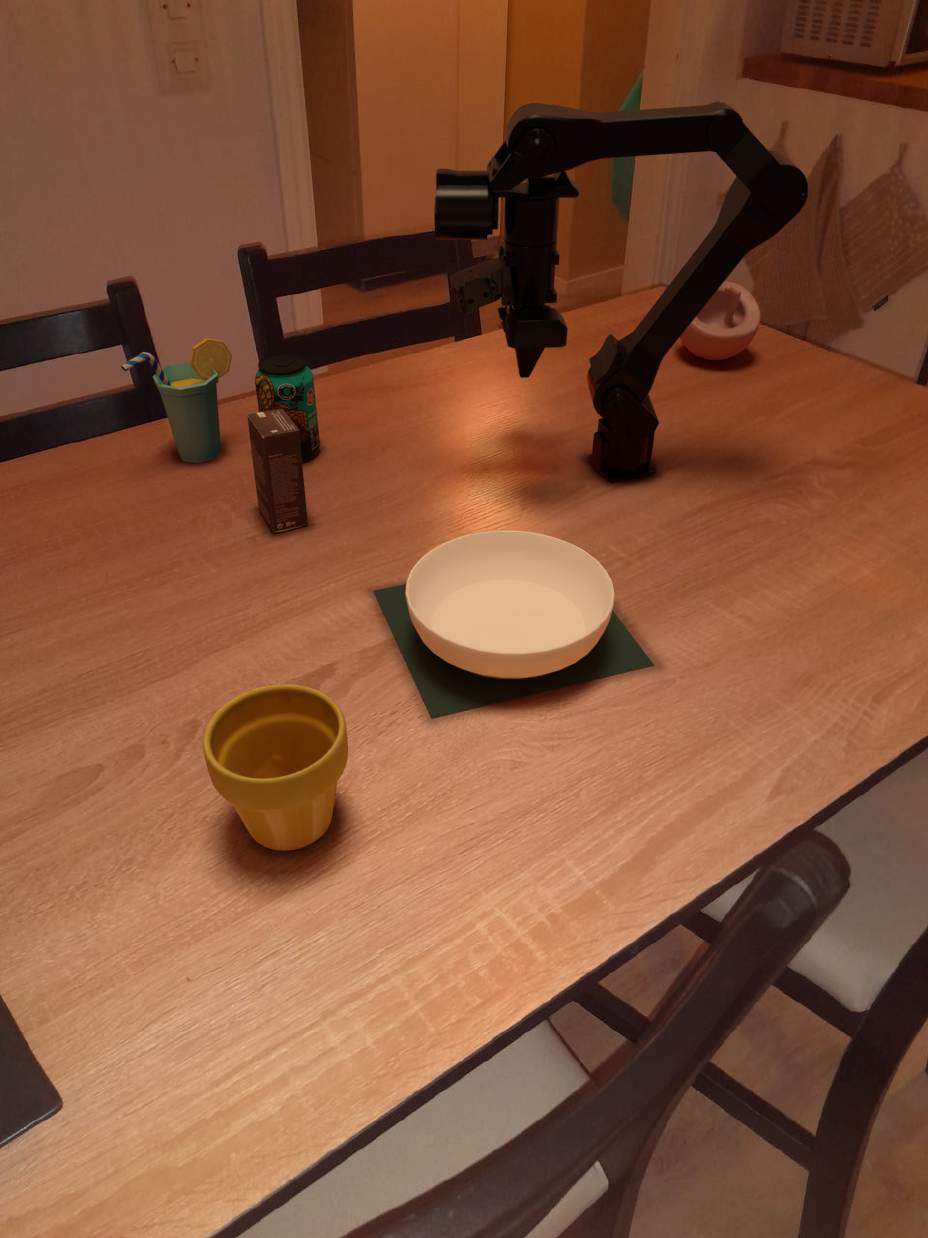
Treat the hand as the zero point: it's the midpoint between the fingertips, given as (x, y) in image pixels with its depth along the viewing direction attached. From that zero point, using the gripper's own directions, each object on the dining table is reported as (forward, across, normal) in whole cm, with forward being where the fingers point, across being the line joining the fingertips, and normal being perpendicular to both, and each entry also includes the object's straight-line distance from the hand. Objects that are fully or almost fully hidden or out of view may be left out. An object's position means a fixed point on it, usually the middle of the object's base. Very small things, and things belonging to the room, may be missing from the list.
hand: (524, 376), depth 113 cm
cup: (+12, -6, -41) cm, 43 cm away
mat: (+12, +31, -5) cm, 34 cm away
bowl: (+12, +33, -5) cm, 36 cm away
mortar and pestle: (+12, -32, +33) cm, 47 cm away
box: (+12, +10, -28) cm, 32 cm away
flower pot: (+12, +54, -25) cm, 61 cm away
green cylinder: (+12, -6, -28) cm, 31 cm away
